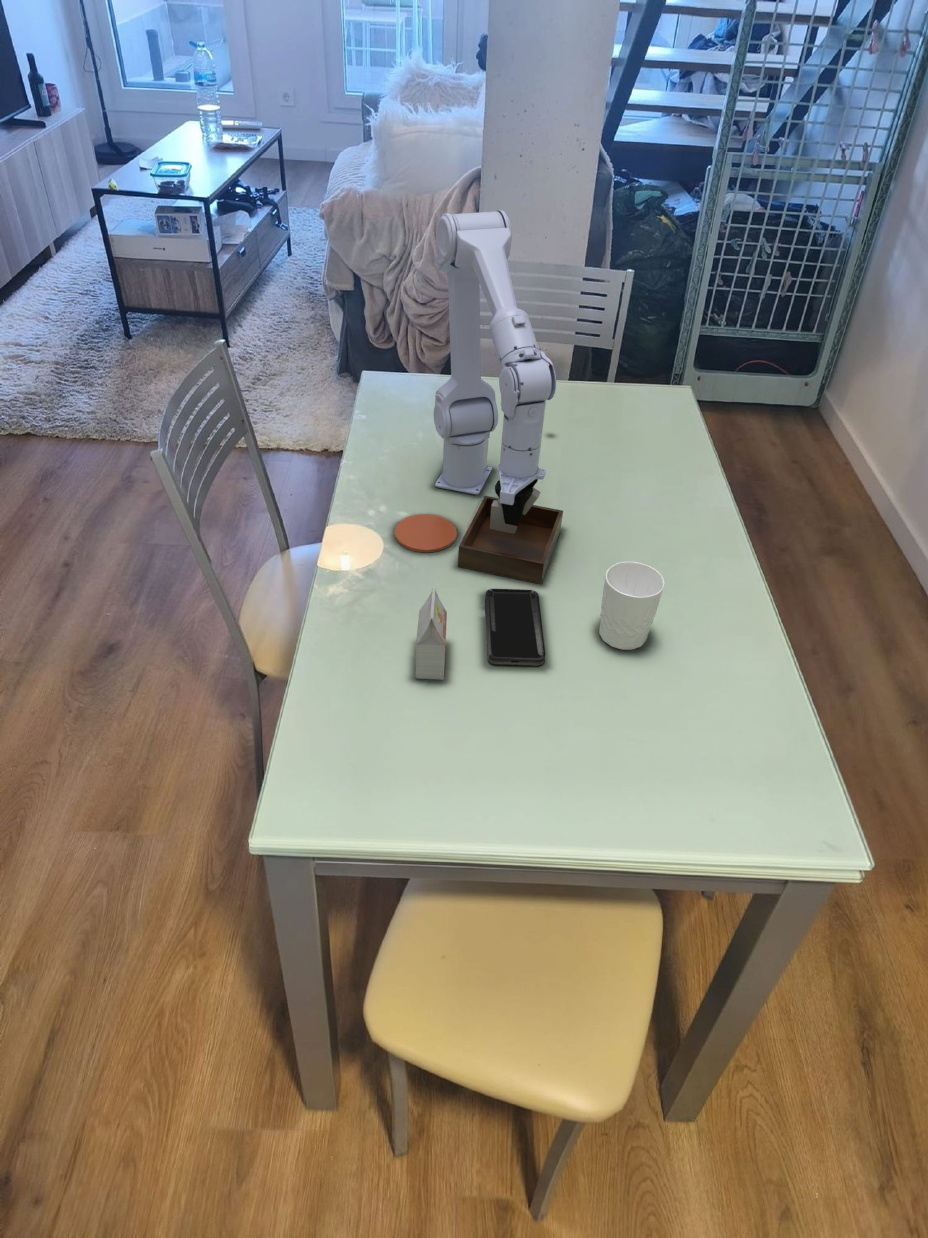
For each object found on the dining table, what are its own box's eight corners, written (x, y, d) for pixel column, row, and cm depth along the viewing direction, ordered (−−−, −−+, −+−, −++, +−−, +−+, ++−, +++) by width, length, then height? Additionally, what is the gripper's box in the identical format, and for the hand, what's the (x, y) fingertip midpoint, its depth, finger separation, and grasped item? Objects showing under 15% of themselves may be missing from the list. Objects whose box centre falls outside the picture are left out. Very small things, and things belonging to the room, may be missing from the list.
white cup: (615, 659, 112) (628, 603, 106) (583, 625, 117) (594, 569, 111) (661, 643, 115) (676, 587, 108) (628, 610, 120) (641, 555, 114)
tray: (483, 515, 138) (484, 495, 135) (560, 530, 135) (563, 510, 133) (457, 566, 127) (458, 546, 124) (541, 584, 124) (543, 563, 122)
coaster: (406, 512, 137) (406, 509, 137) (463, 523, 135) (464, 520, 135) (385, 545, 130) (385, 542, 130) (445, 557, 128) (446, 554, 128)
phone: (537, 590, 121) (546, 660, 110) (537, 595, 122) (545, 666, 110) (484, 588, 121) (487, 658, 109) (484, 594, 121) (486, 664, 110)
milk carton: (415, 678, 108) (416, 620, 101) (418, 643, 113) (419, 586, 106) (443, 679, 108) (445, 622, 101) (445, 645, 113) (447, 588, 106)
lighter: (489, 528, 129) (493, 484, 124) (492, 522, 130) (495, 479, 125) (533, 537, 128) (539, 493, 122) (535, 531, 129) (541, 488, 124)
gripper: (537, 470, 112) (528, 550, 121) (558, 423, 123) (548, 500, 132) (488, 461, 114) (482, 541, 123) (512, 415, 124) (505, 492, 133)
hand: (513, 519), depth 127 cm, fingers closed on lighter, 2 cm apart
